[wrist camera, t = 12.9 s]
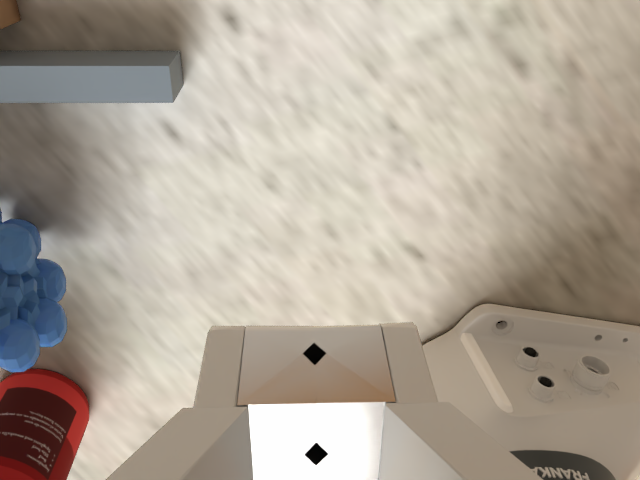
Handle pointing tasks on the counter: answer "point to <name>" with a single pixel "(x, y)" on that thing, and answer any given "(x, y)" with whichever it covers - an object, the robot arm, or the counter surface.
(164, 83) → the bay
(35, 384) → the canned food
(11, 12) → the t block
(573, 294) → the counter surface
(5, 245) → the grapes
